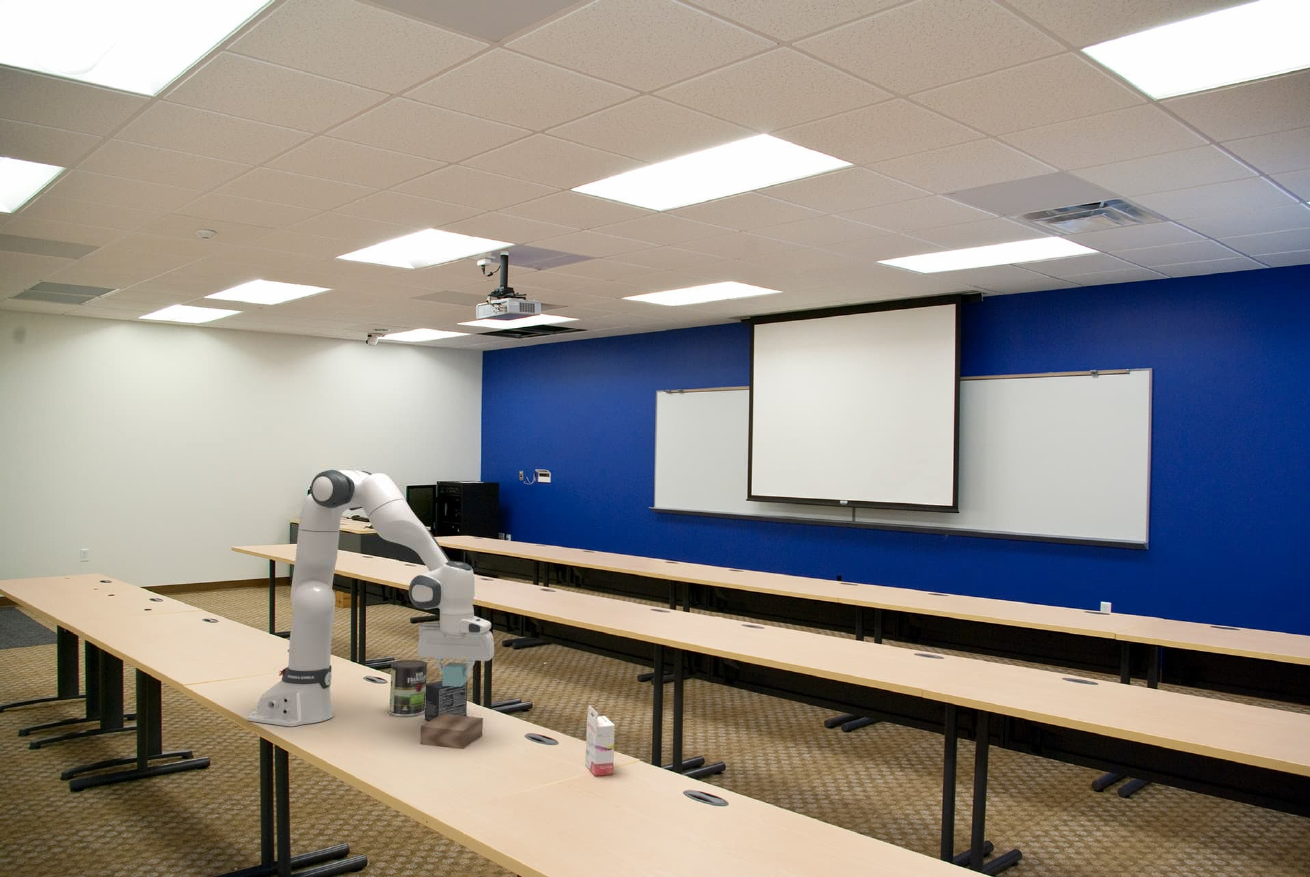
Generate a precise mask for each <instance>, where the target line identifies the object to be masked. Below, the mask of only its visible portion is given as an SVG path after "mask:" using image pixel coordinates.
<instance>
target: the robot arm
mask: <svg viewBox="0 0 1310 877" xmlns="http://www.w3.org/2000/svg"><path fill="white" fill-rule="evenodd" d="M360 509H363V510H364V513H365V514H366V516H367V519H368V520H369V522H370V525H371V527H372V528H373V530H374V531H375V532H376V533H377V535H378V536H379V537H380V538H382V539H383V540H385V541H387V542H390V543H391V542H392V543H395V544H399V545H402V546H405V547H407V548H409V549H411V550H412V551H415V553H416V554H417V555H418V556H419V557H420V559H421V560H422V562H423V563H424V564H425V566H426V567H427V569H428V572H424V573H421V574H418V575H416V576H414V577H413V579H411V581H410V584H409V586H408V598H409V600H410V601H411V603H412V605H413V606H414V607H415V608H416V609H417V608H418V609H421V610H431V609H437V608H438V609H439V622H429V621H426V622H423V623H421V624H420V625H419V626H418V637H419V638H418V642H417V649H416V650H417V652H416V653H417V656H418V657H419V659H435V664H436V667H437V668H438V669H439V676H442V677H443V666H444V663H443V662H444V660H462V661H467V669H465V670H463V673H464V674H463V677H467V678H470V676H471V669H472V668H473V666H474V665H475V663H476V661H479V662H481V661H482V662H488V661H490V660H491V659H492V658H493V657H494V655H495V641H494V636H493V633H492V632H491V631H490V629H491V628H492V623H491V621H489V620H486V619H484V618H481V617H478V616H475V610H474V604H473V603H474V599H475V593H476V592H475V586H476V585H475V583H476V582H475V575H474V574H475V573H474V570H473V568H472V566H471V565H470V564H468V563H466V562H462V561H456V560H455V561H454V560H453V561H451V560H450V558H449V557H448V555H447V554H446V553H445V551H444V549H442V547H441V545H440V544H439V542H438V541H437V539H436V538H435V537H434V534H432V532H431V531H430V529H429V528H427V527H426V525H425V524H424V523H423V522H422V521H421V520H420V519H419V518H418V516H417V515H416V514H415V512H413V510H412V509H411V507H410V505H409V503H408V502H407V500H406V499H405V496H404V495H403V493H402V492H401V490H400V488H398V486H397V485H396V483H394V481H393V480H392V478H390V477H389V475H387V474H385V473H380V472H378V473H377V472H376V473H371V472H369V471H366V470H357V469H356V470H355V469H339V470H337V469H330V470H329V469H328V470H324V471H321V472H319V473H318V474H317V475H315V476H314V478H313V479H312V481H311V484H310V493H309V494H308V495H307V496H306V497H305V498H304V502H303V505H302V508H301V512H300V517H299V521H298V531H297V532H298V533H297V540H296V541H297V542H296V550H295V560H294V566H293V573H292V582H291V587H290V588H291V589H290V602H291V605H292V614H291V625H290V626H291V627H290V633H289V634H290V635H289V645H288V647H289V648H288V649H289V650H288V666H287V667H285V668H283V669H282V670H280V671H279V673H278V676H282V677H281V680H280V681H279V682H277V683H276V684H274V685H273V686H272V687H270V688H269V689H268V690H267V691H265V692H264V693H263V694H262V695H261V696H260V698H259V701H258V705H257V708H256V710H254V711H252V712H250V713H249V714H248V717H247V721H249V722H255V723H263V724H269V725H270V724H271V725H277V726H283V727H296V726H300V725H307V724H315V723H320V722H324V721H327V720H329V719H331V718H333V717H334V716H335V713H334V709H333V705H332V698H331V683H332V677H333V676H332V669H333V668H332V665H331V655H332V653H331V651H332V638H333V637H332V635H333V628H334V621H335V611H336V610H335V609H336V595H335V592H334V590H333V582H334V575H335V572H336V565H337V560H338V554H339V553H338V551H339V542H340V541H339V540H340V530H341V520H342V516H343V513H345V511H347V510H350V511H351V512H352V511H356V510H360Z"/></svg>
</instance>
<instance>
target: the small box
mask: <svg viewBox="0 0 1310 877" xmlns="http://www.w3.org/2000/svg"><path fill="white" fill-rule="evenodd" d="M442 683H443V680H439V681H434V682H429V683H426V695H425V712H424V721H426V722H429V721H431V720H432V719H434V718H436V717H438V716H439V715H441V714H450V715H459V716H468V713H467V711H468V710H467V708H468V707H467V705H468V704H467V703H468V702H467V701H468V681H467V682H466V683H465V684H464V685H462V686H461V687H458V686H442Z"/></svg>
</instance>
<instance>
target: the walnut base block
mask: <svg viewBox="0 0 1310 877" xmlns="http://www.w3.org/2000/svg"><path fill="white" fill-rule="evenodd" d="M483 724H484V718H483V717H476V716H468V715H467V716H459V715H450V714H441V715H439V716H438V717H436V718H434V719H432V720H431V721H429V722H428V721H426V723H424V724H422V725H420V735H419V737H420V738H419V745H423V746H432V747H439V748H440V747H442V748H449V749H458V750H464V749H465V748H466V747H468V746H469V745H470V744H472V743H473V742H475V741H477V740H478V739H479V738H480V737H482V736H483V731H484V730H483V728H484V727H483V726H484V725H483Z"/></svg>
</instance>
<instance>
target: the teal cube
mask: <svg viewBox="0 0 1310 877" xmlns="http://www.w3.org/2000/svg"><path fill="white" fill-rule="evenodd" d="M467 668H468V662H451V661H448V663H446V664H445V665H443V676H442V681H443V683H442V686H458V687H461V686H462V685H464V684H465V683H466V682H467V683H468V677H463V674H464V673H463V670H465V669H467Z"/></svg>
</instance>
